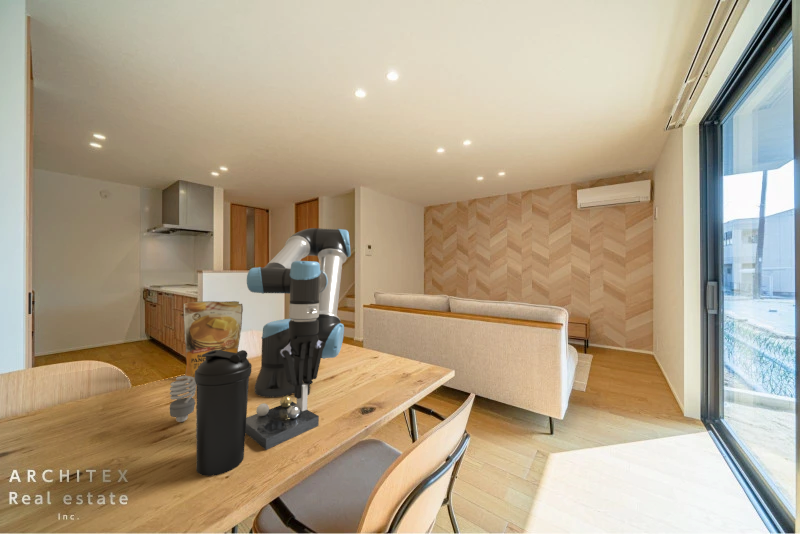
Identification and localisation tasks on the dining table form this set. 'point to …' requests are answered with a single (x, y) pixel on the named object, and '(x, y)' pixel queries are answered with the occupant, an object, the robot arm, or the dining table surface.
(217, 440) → the water bottle
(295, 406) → the steel ball
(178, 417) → the light bulb
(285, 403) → the brass ball
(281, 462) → the dining table surface
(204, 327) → the pancake mix bag
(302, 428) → the plate
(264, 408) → the white plastic ball
